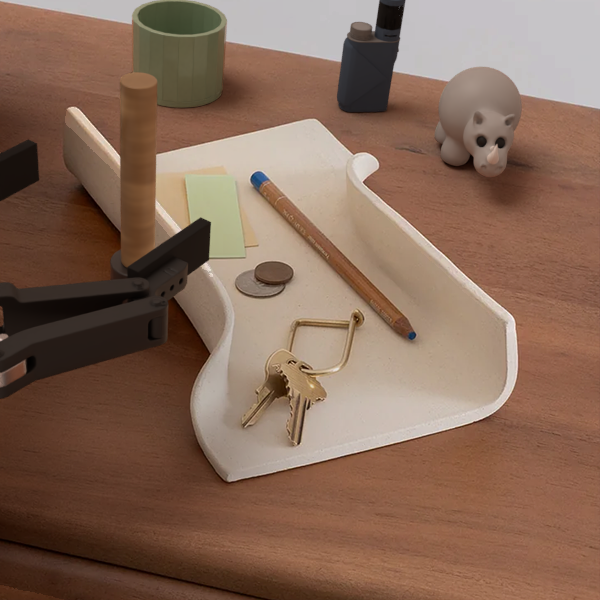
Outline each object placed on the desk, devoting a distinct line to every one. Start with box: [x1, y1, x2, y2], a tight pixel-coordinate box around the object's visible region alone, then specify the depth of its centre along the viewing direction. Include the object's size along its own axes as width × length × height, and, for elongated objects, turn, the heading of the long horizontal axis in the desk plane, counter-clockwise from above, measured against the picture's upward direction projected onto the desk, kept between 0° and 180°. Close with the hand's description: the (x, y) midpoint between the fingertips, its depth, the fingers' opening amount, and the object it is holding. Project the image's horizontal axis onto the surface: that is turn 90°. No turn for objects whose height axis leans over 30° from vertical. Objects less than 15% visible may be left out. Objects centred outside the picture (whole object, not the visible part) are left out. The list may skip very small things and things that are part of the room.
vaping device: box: [336, 0, 406, 113], centre depth 99 cm, size 3×5×12 cm, turn 102°
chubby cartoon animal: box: [434, 66, 523, 178], centre depth 92 cm, size 7×12×8 cm, turn 179°
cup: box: [131, 0, 228, 109], centre depth 100 cm, size 9×9×7 cm
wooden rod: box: [109, 72, 158, 304], centre depth 68 cm, size 4×4×18 cm
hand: (116, 197), depth 65 cm, fingers open, 13 cm apart
